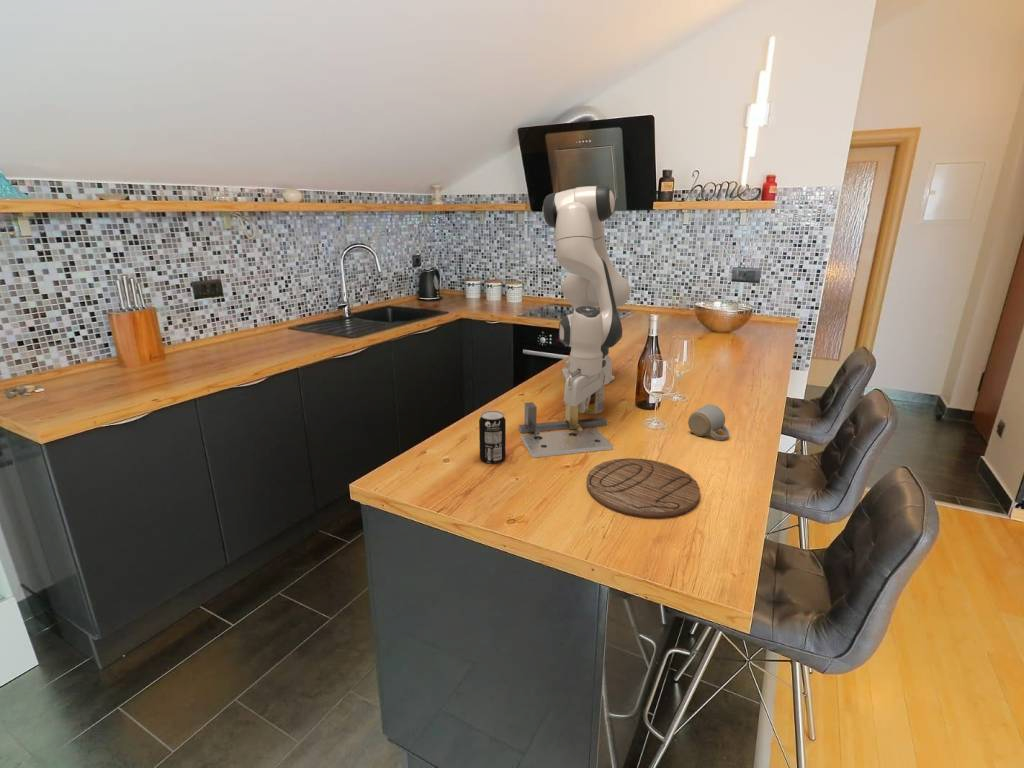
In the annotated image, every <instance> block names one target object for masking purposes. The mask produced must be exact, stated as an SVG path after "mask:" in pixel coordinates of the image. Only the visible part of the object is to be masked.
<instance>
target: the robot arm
mask: <svg viewBox="0 0 1024 768" xmlns="http://www.w3.org/2000/svg"><path fill="white" fill-rule="evenodd" d="M615 204H616V200H615V196H614V193H613V191H612V189H611V188H610V187H609V186H608V185H606V184H605V185H604V184H597V185H590V186H589V185H587V186H578V187H575V188H570V189H566V190H562V191H560V192H559V191H558V192H557V191H556V192H552V193H550V194H547V195H546V196H545V198H544V200H543V204H542V215H543V218H544V220H545V223H546V224H547V225H548V226H550V227H551V228H554V229H555V231H554V237H555V238H554V239H555V241H554V242H555V255H556V259H557V262H558V263H559V265H560V266H561V267H562V269H564V270H567V272H569V273H568V274H567V275H566V276H565V277H564V278H563V281H562V283H561V292H562V296H563V297H564V298H565V299H566V300H567V302H568V303H569V304H570V307H571V308H572V309H573V313H570V314H567V315H564V316H563V318H561V319H560V321H559V322H558V340H559V341H560V342H561V344H563V345H564V346H566V347H570V353H569V357H568V360H566V361H564V364H565V368H561V374H562V376H563V379H564V381H565V385H564V392H563V402H564V405H565V406H566V405H570V406H577V405H578V413H582V414H585V413H584V412H585V411H586V410H588V404H589V401H590V397H591V395H592V394H593V393H595V392H596V391H598V390H599V389H601V387H602V385H603V380H604V373H605V382H604V386H607V385H608V384H610V383H611V381H614V380H615V379H616V378H615V376H614V375H613V373H612V370H613V368H612V363H613V362H612V358H611V356H610V355H609V354H610V348H612V347H614V346H616V345H617V344H618V343H619V342H620V340H621V339H622V337H623V325H622V321H621V318H620V315H619V312H618V308H617V307H623V306H624V305H625V304H627V302H628V300H629V298H630V295H631V286H630V283H629V281H628V280H627V279H626V278H625V277H623V276H622V275H621V274H620V273H619V272H618V271H617V270H616V268H615V267H614V265H613V263H612V261H611V259H610V257H609V254H608V250H607V249H608V248H607V245H606V237H605V230H604V224H603V222H604V221H607V220H609V219H610V218H611V217H612V216H613V214H614V211H615ZM598 307H599V308H598Z"/></svg>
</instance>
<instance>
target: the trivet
mask: <svg viewBox="0 0 1024 768" xmlns="http://www.w3.org/2000/svg"><path fill="white" fill-rule="evenodd" d="M586 490H587V492H588V494H589V495H590V496H591V498H592V499H593V500H594V501H596V502H597V503H598V504H599V505H601V506H602V507H604V508H607V509H609V510H610V511H612V512H616V513H618V514H621V515H625V516H628V517H633V518H638V519H653V520H654V519H656V520H661V519H669V518H672V519H673V518H676V517H679V516H683V515H687V514H688V513H689V512H691V511H692V510H695V508H696V506H697V505H698V504H699V502H700V493H701V491H700V490H701V488H700V485H699V484H698V482H697V481H696V480H695V479H694V478H693V477H692V476H691V475H690V474H689V473H687V472H686V471H684V470H682V469H680V468H678V467H676V466H673V465H670V464H669V463H665V462H661V461H657V460H652V459H645V458H630V457H629V458H627V457H626V458H616V459H612V460H608V461H603V462H601V463H599V464H597V465H595V466H594V467H593V468H591V469H590V470H589V471H588V474H587V476H586Z"/></svg>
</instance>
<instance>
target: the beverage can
mask: <svg viewBox="0 0 1024 768" xmlns="http://www.w3.org/2000/svg"><path fill="white" fill-rule="evenodd" d="M506 421H507V420H506V418H505V414H504V413H503V411H499V410H486V411H483V412H482V413H480V418H479V419H478V424H479V425H478V430H479V436H478V438H479V457H480V460H482V461H483V462H485V463H488V464H497V463H501V462H502V461H503V460H504V459H505V458H506V455H507V454H506V453H507V451H506V447H507V445H506V443H507V442H506V441H507V439H506V435H507V434H506V431H507V430H506V424H507V423H506Z"/></svg>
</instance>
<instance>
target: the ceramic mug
mask: <svg viewBox="0 0 1024 768" xmlns="http://www.w3.org/2000/svg"><path fill="white" fill-rule="evenodd" d="M687 423H688V428H689V430H690V431H691V432H692V433H693V434H694V435H696V436H700V437H705V436H709V435H710V436H711V437H713V438H714V439H716V440H718V441H726V440H727V439H728V438H729V436H730V430H729V429H728V428H727V426H726V425H725V423H726V416H725V413H724V412H723V410H722V409H721V407H719V406H717V405H715V404H711V403H709V404H705V405H704V406H702V407H700V408H698V409H697V410H695V411H693V413H691V414H690V416H689V417H688V420H687ZM720 430H721V431H722V432H723V433H724V434H725V435H724V436H723V435H720V434H718V433H717V431H720Z"/></svg>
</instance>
